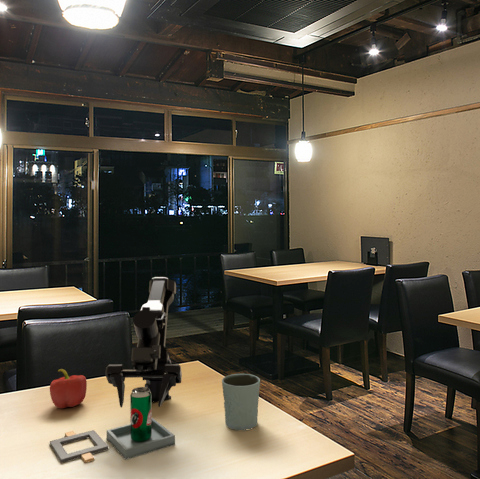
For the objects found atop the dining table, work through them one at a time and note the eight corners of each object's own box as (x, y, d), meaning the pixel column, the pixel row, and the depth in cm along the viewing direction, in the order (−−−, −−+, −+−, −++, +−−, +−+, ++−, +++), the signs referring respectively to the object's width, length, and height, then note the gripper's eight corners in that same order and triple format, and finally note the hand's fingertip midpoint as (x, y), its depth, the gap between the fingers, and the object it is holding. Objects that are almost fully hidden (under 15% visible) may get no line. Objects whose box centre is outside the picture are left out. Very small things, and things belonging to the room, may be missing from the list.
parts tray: (152, 426, 118) (152, 418, 118) (174, 444, 108) (174, 435, 108) (106, 439, 111) (106, 430, 111) (125, 459, 101) (125, 450, 101)
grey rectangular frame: (90, 428, 116) (90, 425, 116) (112, 454, 103) (112, 451, 103) (46, 439, 110) (46, 436, 110) (65, 468, 97) (64, 465, 97)
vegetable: (42, 405, 132) (41, 371, 132) (74, 396, 140) (74, 364, 140) (60, 415, 125) (60, 380, 125) (93, 405, 133) (93, 371, 132)
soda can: (152, 441, 108) (151, 392, 108) (130, 444, 107) (130, 394, 106) (151, 432, 113) (150, 385, 113) (130, 434, 112) (130, 387, 111)
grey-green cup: (265, 420, 122) (265, 376, 122) (250, 435, 113) (250, 388, 113) (232, 413, 126) (232, 371, 126) (215, 427, 117) (215, 382, 117)
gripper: (106, 333, 113) (94, 392, 103) (180, 332, 114) (176, 391, 103) (114, 355, 122) (103, 412, 111) (183, 354, 122) (179, 411, 111)
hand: (140, 406), depth 109 cm, fingers open, 9 cm apart
